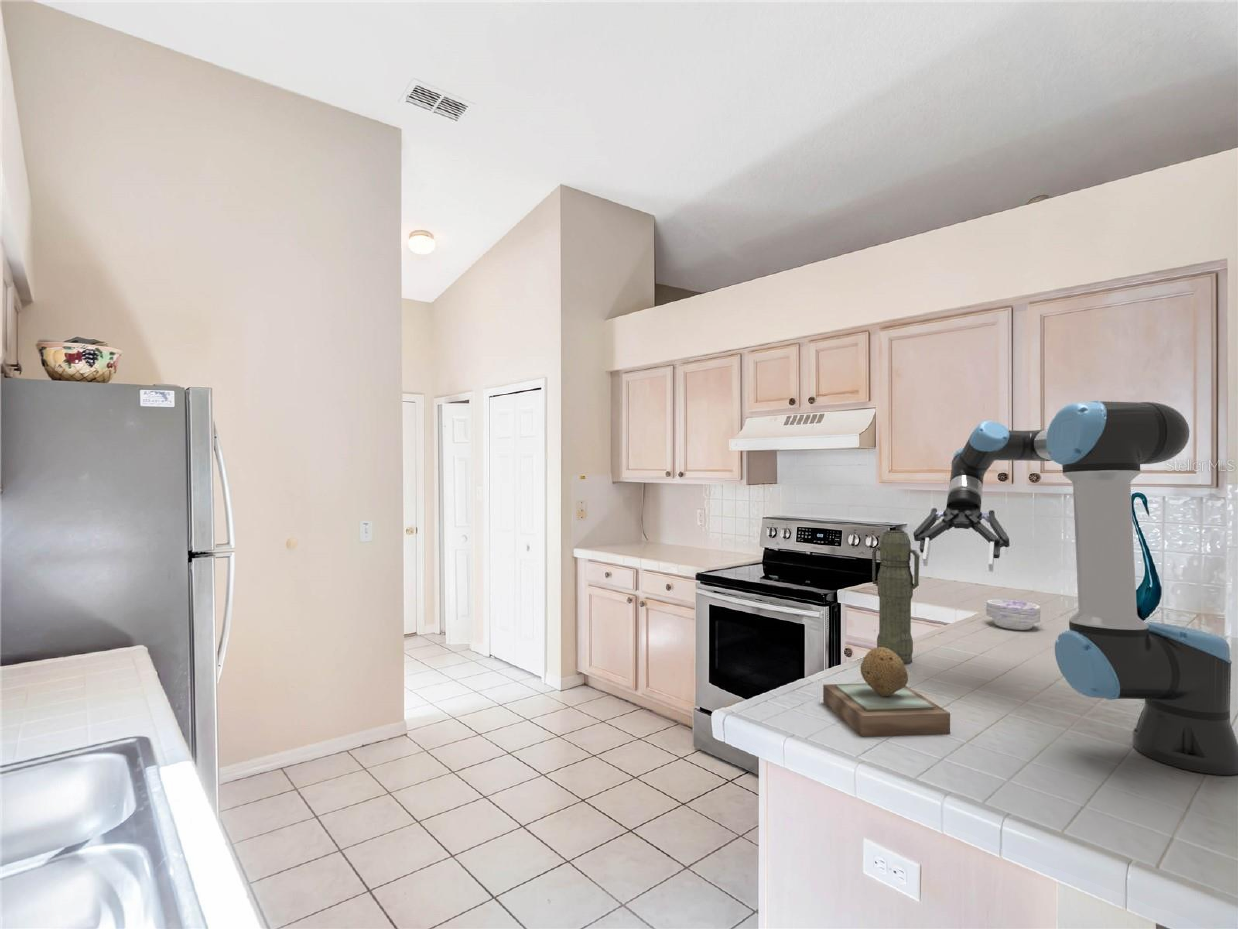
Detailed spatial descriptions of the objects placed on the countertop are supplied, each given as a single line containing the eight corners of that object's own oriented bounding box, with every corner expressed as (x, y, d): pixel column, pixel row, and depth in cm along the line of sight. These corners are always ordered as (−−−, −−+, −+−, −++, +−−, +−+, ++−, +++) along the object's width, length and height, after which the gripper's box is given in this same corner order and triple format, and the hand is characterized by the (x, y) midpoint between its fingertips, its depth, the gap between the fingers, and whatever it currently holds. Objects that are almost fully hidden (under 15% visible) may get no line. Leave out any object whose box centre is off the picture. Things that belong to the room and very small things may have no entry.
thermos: (917, 667, 167) (918, 533, 167) (869, 660, 172) (870, 531, 173) (920, 659, 174) (920, 531, 175) (874, 652, 180) (874, 528, 180)
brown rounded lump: (849, 691, 136) (850, 644, 136) (881, 685, 139) (881, 639, 139) (883, 705, 127) (883, 655, 127) (915, 699, 131) (915, 650, 131)
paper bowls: (1029, 623, 217) (1030, 599, 217) (1048, 634, 202) (1048, 609, 202) (980, 620, 220) (980, 597, 221) (994, 631, 206) (994, 606, 206)
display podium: (950, 733, 125) (950, 710, 125) (862, 736, 123) (862, 713, 123) (900, 700, 143) (900, 680, 143) (823, 702, 141) (823, 682, 141)
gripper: (1023, 510, 156) (1020, 580, 143) (912, 506, 170) (901, 569, 157) (1022, 488, 151) (1020, 559, 139) (908, 486, 165) (897, 550, 153)
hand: (956, 565), depth 148 cm, fingers open, 13 cm apart
